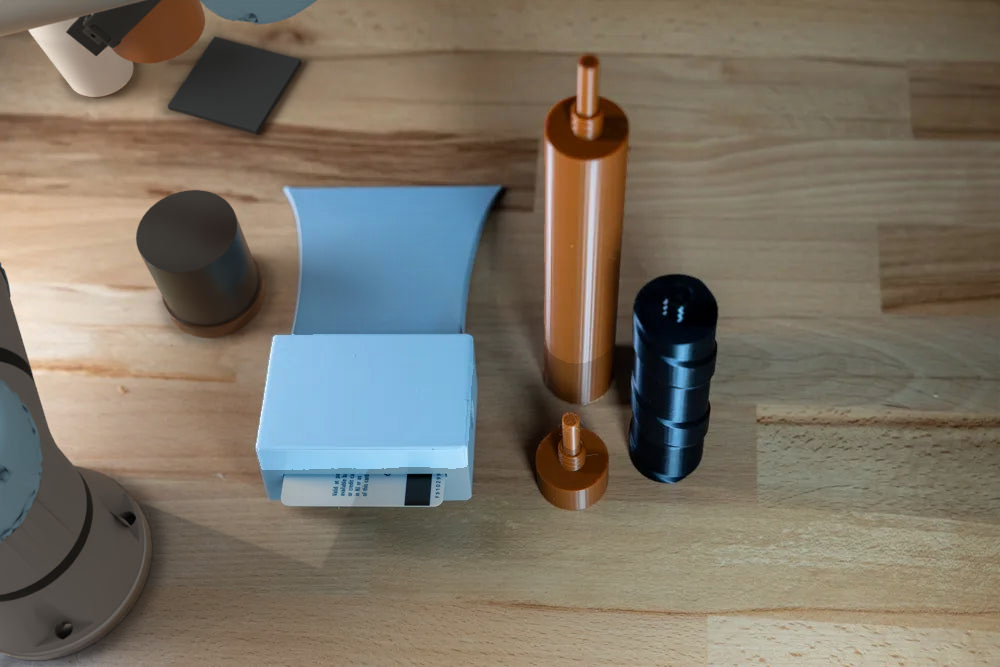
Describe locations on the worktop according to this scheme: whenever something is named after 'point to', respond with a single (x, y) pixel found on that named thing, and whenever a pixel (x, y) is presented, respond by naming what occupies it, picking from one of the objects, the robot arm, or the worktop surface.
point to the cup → (83, 61)
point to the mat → (235, 85)
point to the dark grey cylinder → (201, 263)
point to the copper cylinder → (164, 32)
